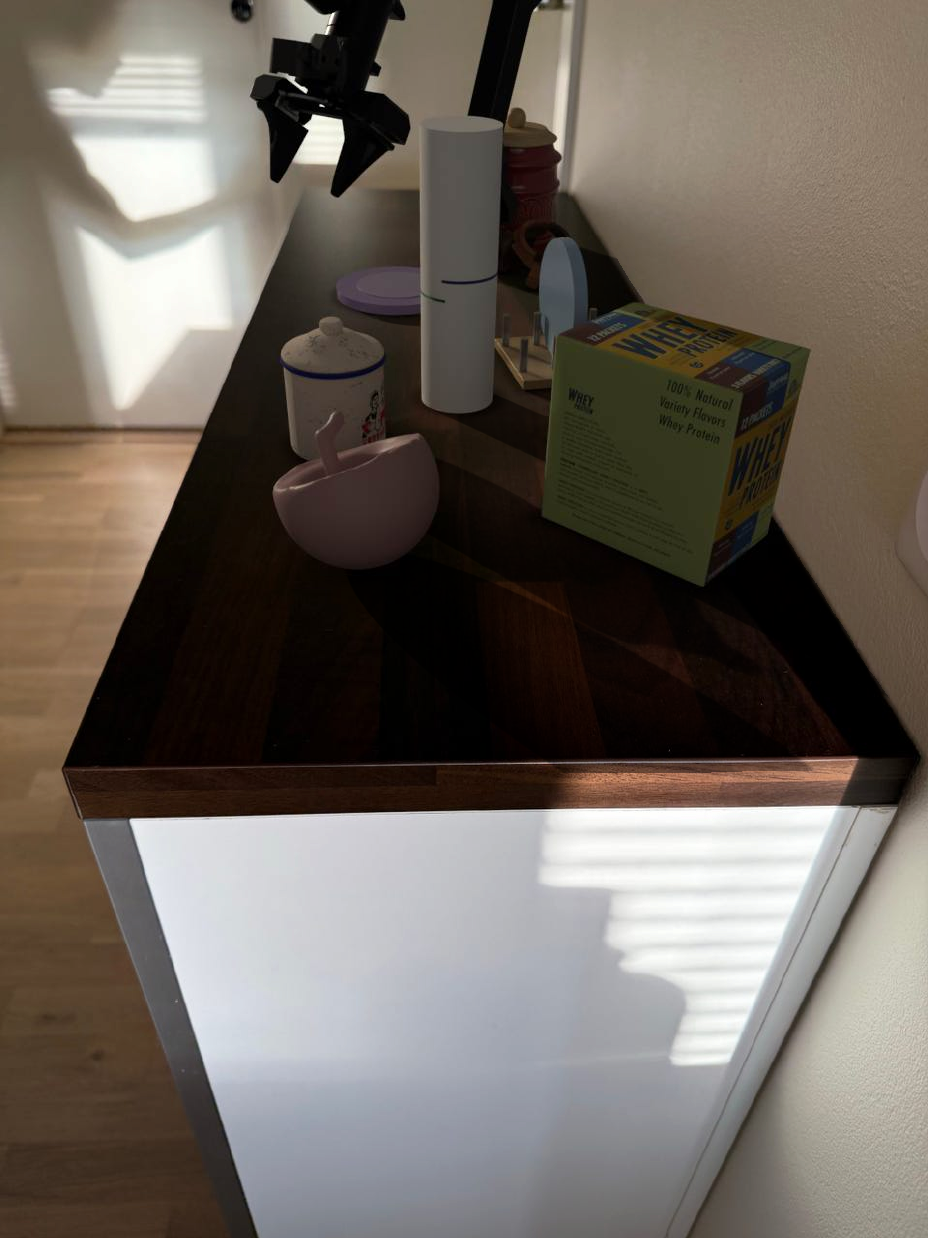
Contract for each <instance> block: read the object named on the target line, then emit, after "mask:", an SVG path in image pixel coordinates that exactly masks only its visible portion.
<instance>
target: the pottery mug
mask: <svg viewBox="0 0 928 1238" xmlns="http://www.w3.org/2000/svg"><path fill="white" fill-rule="evenodd" d="M547 230H548V231H550V232H551V233H552V234H553V235H554V236H555V238H565V237H569V238H572V237H571V235H570V234H569V232H568V231H567V230H566V229H565V228H564V227H562V226H561V225H560V224H558V223H557V222H556V223H554V222H550V221H547V220H543V219H532V220H529V221H527V222H525V223H524V224H523V225H522V226H521V228H519V229H517V230H516V231H514V232H512V233H507V232H505V231H503V230H500V229H499V245H498V246H499V248H500V250H501V251H498V270H497V271H498V272H499V273H502V272H505V273H506V272H507V271H508V270H509V269H510V268H512V267H515V266H517V265H525V266H526V267H527V268H528V269H529V273H528V275H527V277H526V279H525V282H524V283H525V286H527V287H528V288H530V289H531V290H537V288H539V282H540V272H541V265H542V260H543V256H544V252H539V251H537V250H535V249H534V248H532V247H533V244H534V242H535V241H536V239H537V237H542V236H544V235H545V234H546V233H547Z"/></svg>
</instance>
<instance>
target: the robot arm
mask: <svg viewBox="0 0 928 1238" xmlns="http://www.w3.org/2000/svg"><path fill="white" fill-rule="evenodd" d="M303 1H304V2H305V3H306V4H307V5H308V6H309V7H311V8H312V9H313V10H314V12H316V13H318V14H320V15H322V16H329V18H328V21H327V24H326V26H325V30H324V33H316V32H315V33H314V34H313V35H312V36H311V38H310V40H309V42H308V41H301V40H295V39H288V38H280V37H270V47H269V64H268V65H269V66H268V73H270V74H265V73H262V74H261V75H258V76H256V77H255V78H254V81H253V83H252V87H251V90H250V93H249V98H250V99H252V100H253V101H255V103H256V108H257V109H258V110H259V111H260V112H262V113H263V115H264V118H265V120H266V122H267V127H268V136H269V179H270V181H272V182H273V183H274V184H279V183H281V181H282V179H283V178H284V176H285V175H286V173H287V172H288V170H289V168H290V166H291V164H292V163H293V160H294V159H295V157H296V156H297V154H298V152H299V150H300V148H301V146H302V145H303V143H304V140H305V139H306V137H307V135H308V134H309V131H310V130H309V129H308V128H306V127H305V126H306V125H307V124H308V123H309V122H310V121H312V118H313V116H319V117H324V118H328V119H329V118H330V119H334V120H335V119H336V120H339V121H341V122H342V123H341V124H342V130H343V138H344V139H343V142H342V147H341V150H340V154H339V156H338V160H337V164H336V167H335V170H334V174H333V177H332V182H331V186H330V190H329V192H330V193H329V194H330V195H331V196H333V197H334V198H337V199H339V198H340V197H341V196H342V195H343V194H344V193H345V192H346V191H347V190H348V189H349V188H350V187H351V186H352V185H353V184H354V183H355V182H356V181H357V180H358V179H359V178H360V177H361V176H362V175H363V174H364V173H365V172H366V171H367V170H368V169H369V168H370V167H371V166H372V165H373V164H375V162H377V161H378V160H379V159H380V158H382V157H383V156H384V155H385V154H386V153H387V152H393V151H395V148H396V145H400V146H405V145H406V143H407V141H408V138H409V135H410V133H411V130H412V127H411V121H410V115H409V114H408V113H407V112H406V111H405V110H404V109H403V108H401V106H399V105H398V104H397V103H396V102H394V101H393V100H392V99H391V98H390V97H389V96H387V94H386V93H383V92H376V91H370V90H366V89H367V86H368V83H369V81H370V80H369V79H370V78H371V77H377V78H379V76H380V74H381V70H382V66H381V65H380V64H379V63H377V62H376V59H377V56H378V53H379V50H380V47H381V44H382V40H383V38H384V35H385V32H386V28H387V25H388V23H389V20H390V21H391V20H392V21H398V22H399V21H400V22H404V21H405V20H406V18H407V17H406V11H405V8H404V5H403V4H402V2H401V0H303ZM542 1H543V0H492V2H491V8H490V11H489V17H488V20H487V26H486V29H485V34H484V37H483V38H484V39H483V43H482V49H481V52H480V57H479V60H478V66H477V70H476V74H475V79H474V83H473V87H472V91H471V96H470V99H469V100H470V102H469V105H468V110H467V113H466V116H476V117H484V118H490V119H494V120H497V121H500V122H501V123H502V124H503V133H504V128H505V124H506V121H507V116H508V112H509V110H510V107H511V103H512V99H513V95H514V90H515V86H516V83H517V82H516V81H517V77H518V73H519V69H520V65H521V61H522V56H523V52H524V48H525V45H526V44H525V43H526V39H527V36H528V31H529V27H530V23H531V19H532V16H533V12H534V11H535V10H536V9H537V8H538V6H539V5H540V4H541V3H542ZM278 73H280V74H286V75H288V76H289V77H293V78H294V80H293V82H295V84H297V85H299V87H302V88H304V89H306V92H305V91H303V90H302V89H301V88H299V87H298V86H297V85H295V84H294V83H293V82H292V81H291V80H289V79H288V78H287V77H285V76H278V75H277V74H278ZM272 74H274V75H272ZM395 144H396V145H395ZM507 171H508V160H507V156H506V152H505V148H504V144H503V140H502V166H501V192H500V219H499V229H500V230H501V223H509V222H511V219H513V218H515V217H516V213H517V209H518V205H519V200H518V199H517V197H516V195H515V194H514V192H513V191H512V189H511V188H510V186H509V185H508V183H507V181H506V177H507ZM498 251H500V248H499V246H498Z"/></svg>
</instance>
